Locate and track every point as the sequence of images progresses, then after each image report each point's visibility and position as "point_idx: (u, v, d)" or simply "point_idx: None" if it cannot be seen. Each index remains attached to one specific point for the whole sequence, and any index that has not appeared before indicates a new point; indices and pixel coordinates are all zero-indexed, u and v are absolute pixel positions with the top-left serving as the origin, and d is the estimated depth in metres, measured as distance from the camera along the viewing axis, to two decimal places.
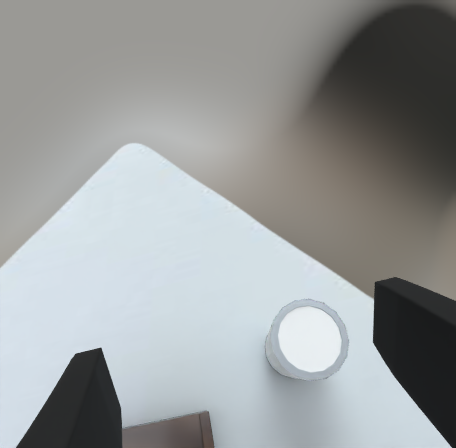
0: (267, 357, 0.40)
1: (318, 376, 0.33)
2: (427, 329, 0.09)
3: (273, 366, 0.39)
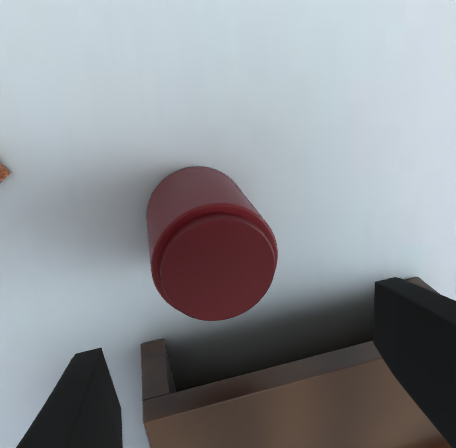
0: None
1: None
2: (427, 329, 0.09)
3: None
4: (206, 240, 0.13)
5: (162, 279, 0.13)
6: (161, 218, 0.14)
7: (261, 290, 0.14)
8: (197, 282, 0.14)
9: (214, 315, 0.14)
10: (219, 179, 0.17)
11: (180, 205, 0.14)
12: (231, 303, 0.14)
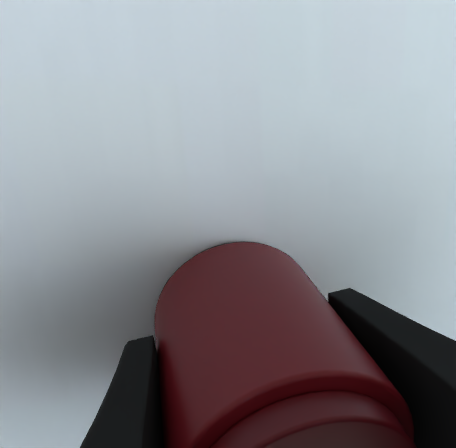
0: None
1: None
2: (372, 343, 0.09)
3: None
4: None
5: None
6: (187, 379, 0.07)
7: None
8: None
9: None
10: (284, 275, 0.09)
11: (228, 363, 0.07)
12: None
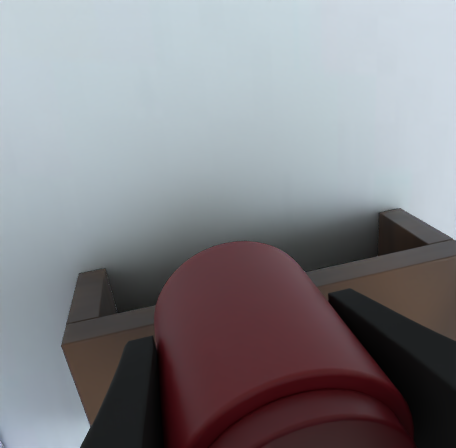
0: None
1: None
2: (372, 344, 0.09)
3: None
4: None
5: None
6: (187, 378, 0.07)
7: None
8: None
9: None
10: (284, 274, 0.09)
11: (227, 362, 0.07)
12: None
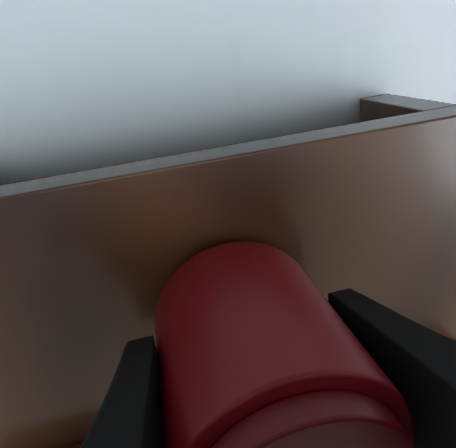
0: None
1: None
2: (372, 344, 0.09)
3: None
4: None
5: None
6: (187, 378, 0.07)
7: None
8: None
9: None
10: (284, 275, 0.09)
11: (228, 363, 0.07)
12: None
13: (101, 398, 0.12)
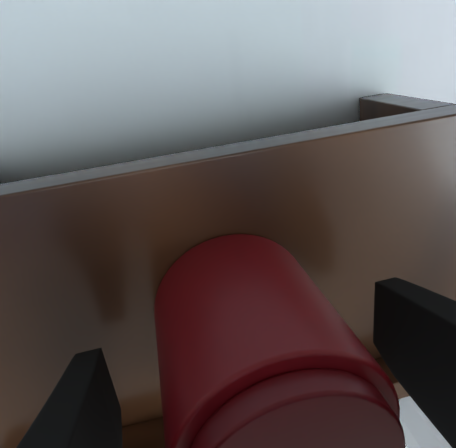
0: None
1: None
2: (427, 329, 0.09)
3: None
4: (283, 434, 0.06)
5: None
6: (185, 360, 0.08)
7: None
8: None
9: None
10: (279, 265, 0.10)
11: (223, 344, 0.07)
12: None
13: None
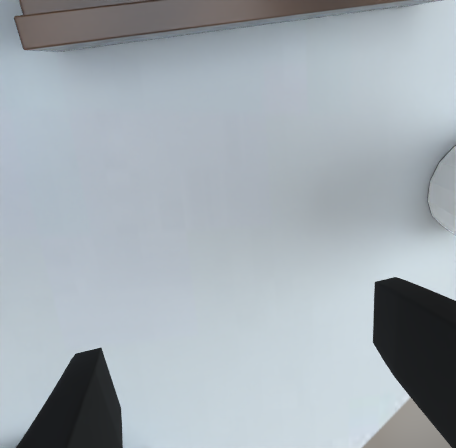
0: None
1: None
2: (427, 329, 0.09)
3: None
4: None
5: None
6: None
7: None
8: None
9: None
10: None
11: None
12: None
13: None
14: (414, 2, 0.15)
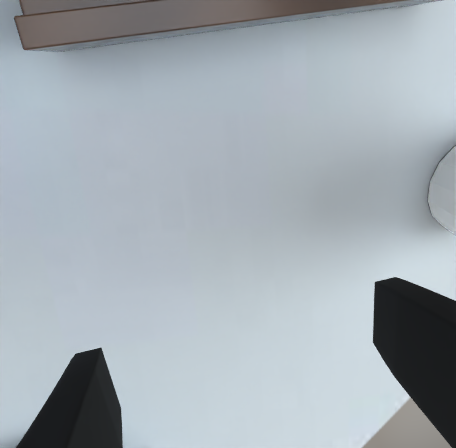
0: None
1: None
2: (427, 329, 0.09)
3: None
4: None
5: None
6: None
7: None
8: None
9: None
10: None
11: None
12: None
13: None
14: (414, 2, 0.15)
